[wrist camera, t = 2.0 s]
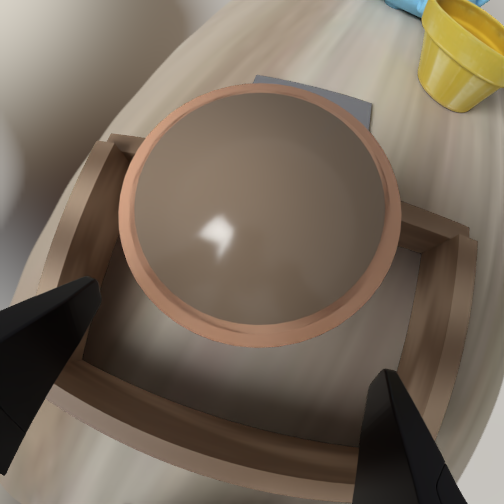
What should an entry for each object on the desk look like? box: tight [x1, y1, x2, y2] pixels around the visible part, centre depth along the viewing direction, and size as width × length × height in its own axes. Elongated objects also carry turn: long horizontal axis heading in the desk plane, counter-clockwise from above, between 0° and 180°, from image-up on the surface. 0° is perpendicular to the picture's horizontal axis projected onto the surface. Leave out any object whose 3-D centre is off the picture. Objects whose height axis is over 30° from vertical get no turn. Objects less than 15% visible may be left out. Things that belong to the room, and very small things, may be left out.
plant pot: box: [418, 0, 504, 113], centre depth 18 cm, size 10×10×10 cm
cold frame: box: [36, 134, 478, 503], centre depth 16 cm, size 16×24×6 cm
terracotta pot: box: [118, 83, 401, 348], centre depth 13 cm, size 7×7×13 cm
